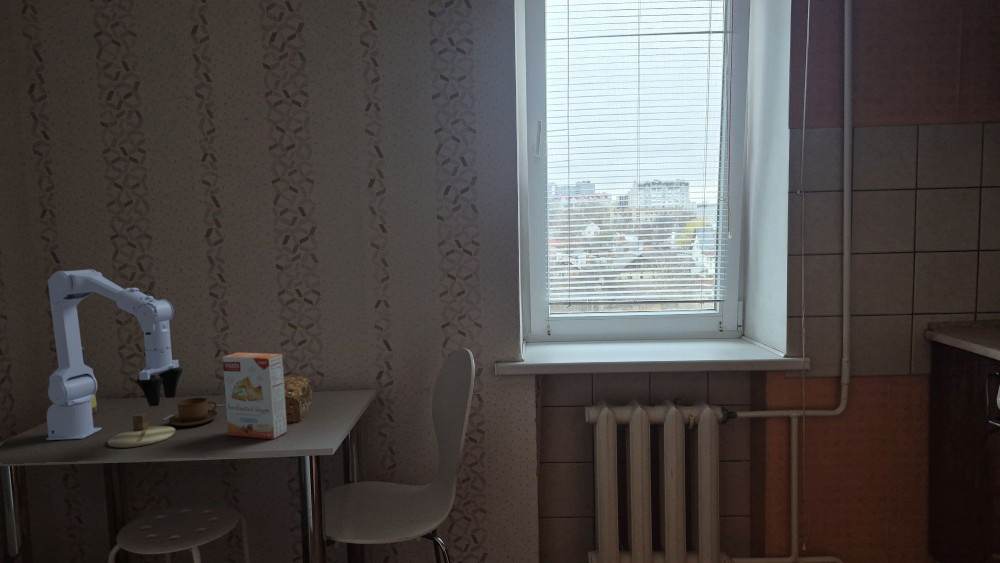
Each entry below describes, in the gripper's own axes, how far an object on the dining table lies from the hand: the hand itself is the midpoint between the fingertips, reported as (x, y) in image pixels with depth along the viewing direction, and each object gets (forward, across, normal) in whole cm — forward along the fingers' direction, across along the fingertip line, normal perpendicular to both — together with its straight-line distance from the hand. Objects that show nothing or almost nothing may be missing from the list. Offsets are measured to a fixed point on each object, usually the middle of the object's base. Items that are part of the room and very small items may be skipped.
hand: (162, 401), depth 153 cm
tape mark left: (+10, +20, +10) cm, 24 cm away
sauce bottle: (+10, +28, +39) cm, 49 cm away
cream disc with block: (+10, +2, +7) cm, 12 cm away
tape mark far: (+10, +31, 0) cm, 33 cm away
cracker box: (+10, +1, -23) cm, 25 cm away
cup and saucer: (+10, +15, 0) cm, 18 cm away
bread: (+10, +19, -25) cm, 33 cm away
